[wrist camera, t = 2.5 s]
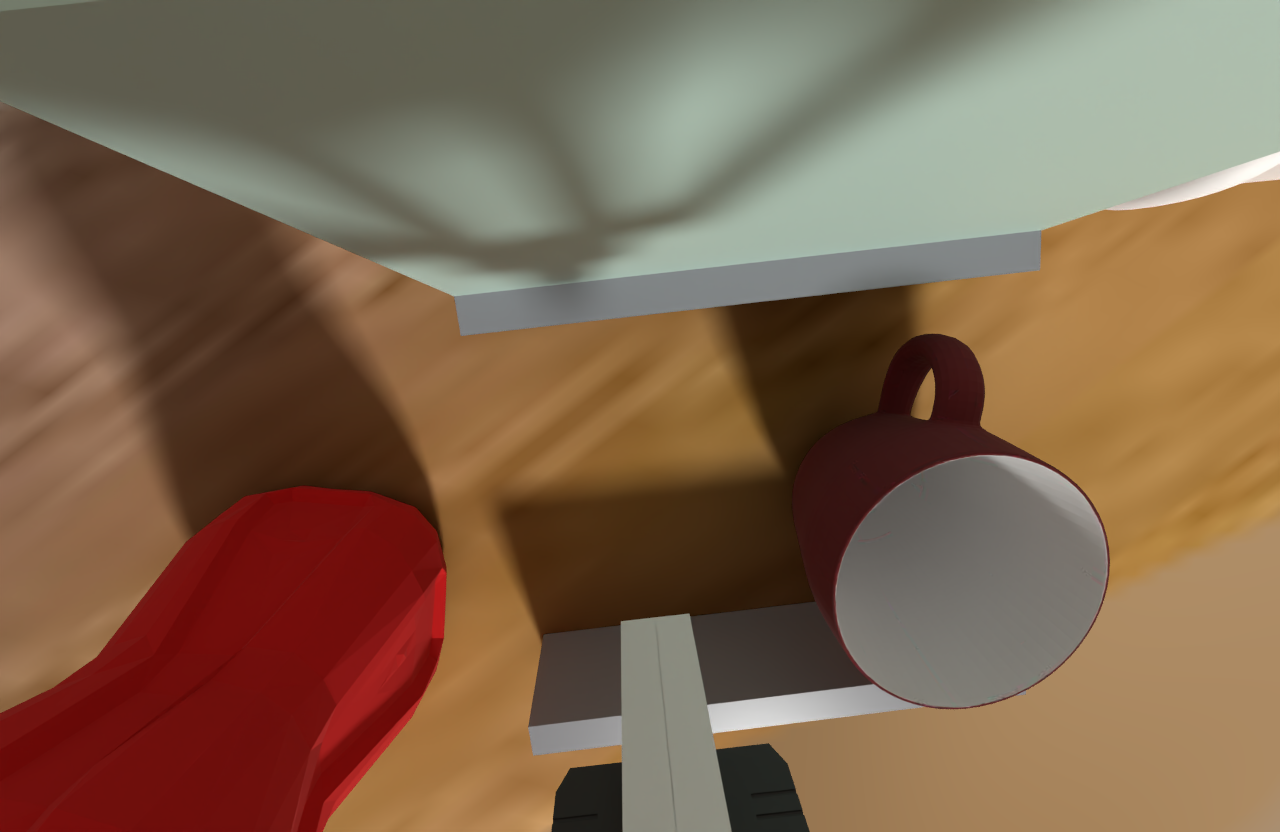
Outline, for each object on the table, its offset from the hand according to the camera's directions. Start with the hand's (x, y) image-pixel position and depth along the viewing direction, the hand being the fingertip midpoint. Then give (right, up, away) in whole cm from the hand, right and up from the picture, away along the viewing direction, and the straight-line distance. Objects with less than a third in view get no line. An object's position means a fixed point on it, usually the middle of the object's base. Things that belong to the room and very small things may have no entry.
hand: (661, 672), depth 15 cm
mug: (+8, +4, +14) cm, 17 cm away
